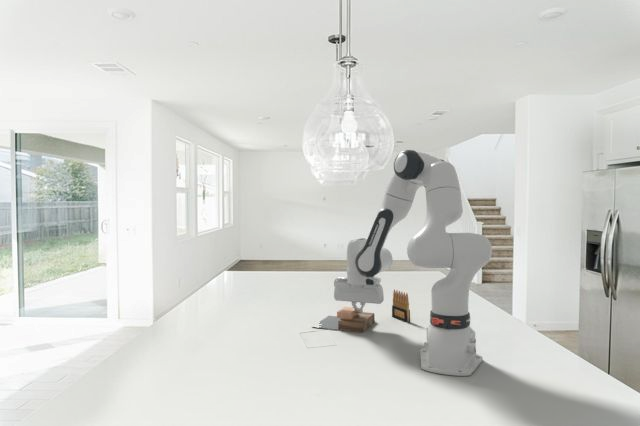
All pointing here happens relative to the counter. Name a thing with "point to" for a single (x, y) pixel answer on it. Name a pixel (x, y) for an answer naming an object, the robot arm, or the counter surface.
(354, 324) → the deck
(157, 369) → the counter surface
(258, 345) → the counter surface
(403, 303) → the ammunition clip
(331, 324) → the mat
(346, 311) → the tile
